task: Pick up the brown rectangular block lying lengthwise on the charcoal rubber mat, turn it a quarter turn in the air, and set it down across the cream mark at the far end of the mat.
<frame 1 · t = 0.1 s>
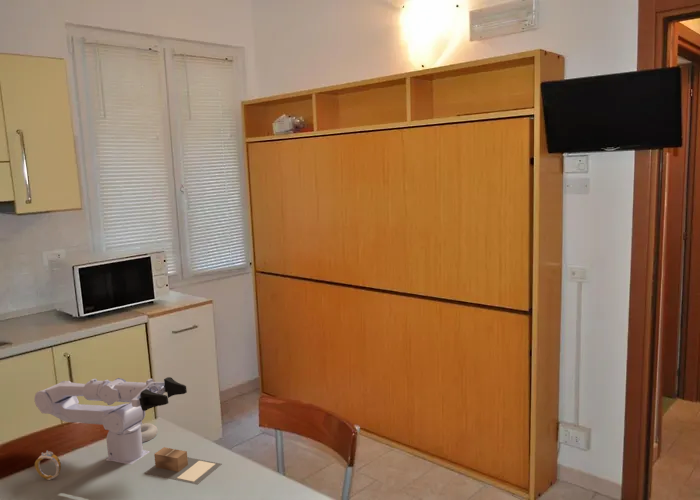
hand: (176, 394, 156), 22 cm above the table, tool horizontal, fingers open, 7 cm apart
brown rectangular block: (171, 466, 159), point 1 cm above the table, touching mat
mat: (183, 470, 158), on the table
donut: (141, 439, 179), on the table
ring: (49, 480, 156), on the table
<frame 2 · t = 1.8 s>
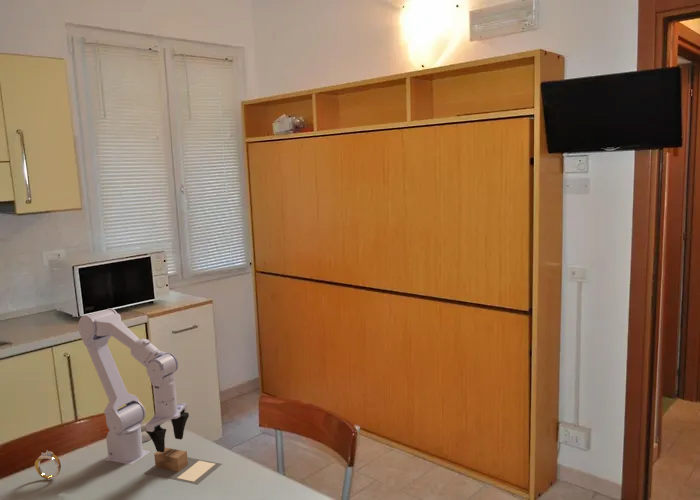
hand: (170, 444, 158), 7 cm above the table, tool pointing down, fingers open, 7 cm apart
nothing on the table moved.
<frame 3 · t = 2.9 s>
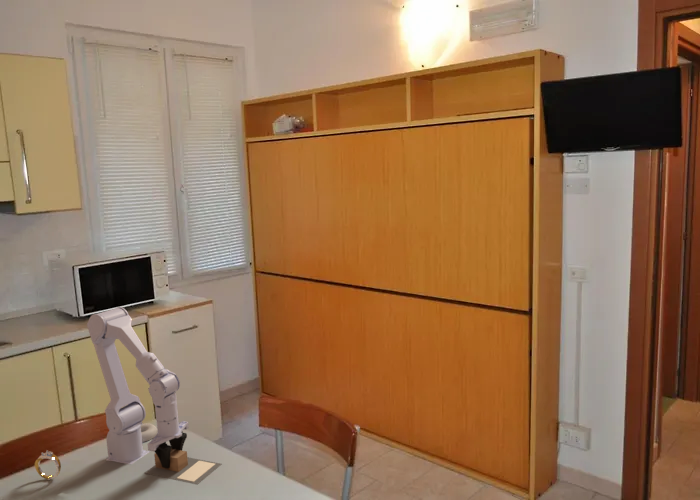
hand: (171, 463, 159), 1 cm above the table, tool pointing down, fingers closed on brown rectangular block, 4 cm apart
brown rectangular block: (171, 466, 159), point 1 cm above the table, touching gripper, mat
everything else where it was.
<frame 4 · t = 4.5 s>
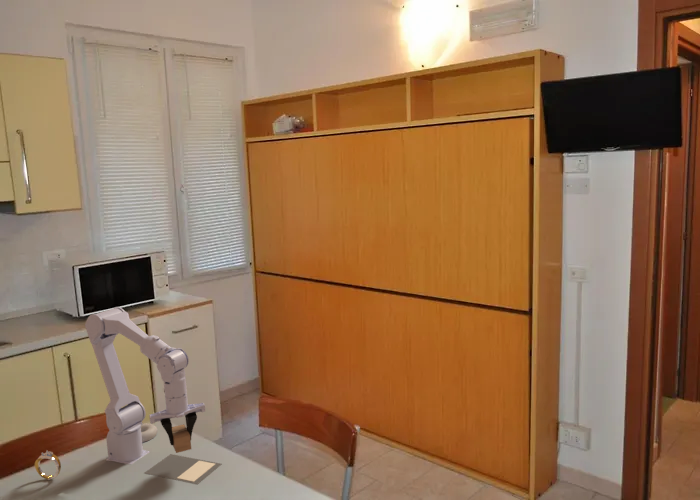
hand: (180, 441, 157), 9 cm above the table, tool pointing down, fingers closed on brown rectangular block, 4 cm apart
brown rectangular block: (180, 445, 157), point 7 cm above the table, touching gripper
everything else where it was.
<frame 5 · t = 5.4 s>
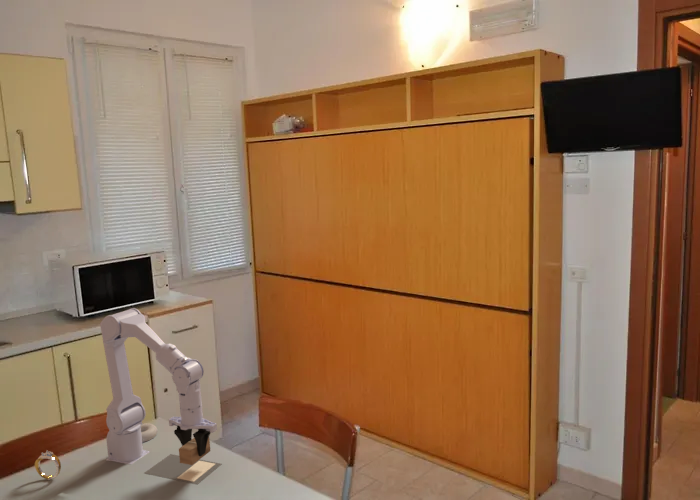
hand: (195, 453, 155), 6 cm above the table, tool pointing down, fingers closed on brown rectangular block, 4 cm apart
brown rectangular block: (195, 456, 155), point 5 cm above the table, touching gripper
everything else where it was.
when the fingers open (3 cm above the table, at t = 6.3 s): brown rectangular block drops 1 cm, resting on mat.
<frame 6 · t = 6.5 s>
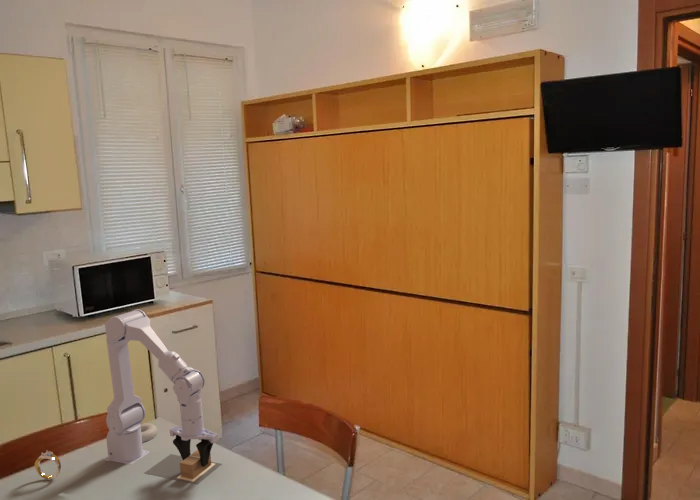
hand: (195, 463, 156), 3 cm above the table, tool pointing down, fingers open, 5 cm apart
brown rectangular block: (196, 470, 156), point 1 cm above the table, touching mat
everything else where it was.
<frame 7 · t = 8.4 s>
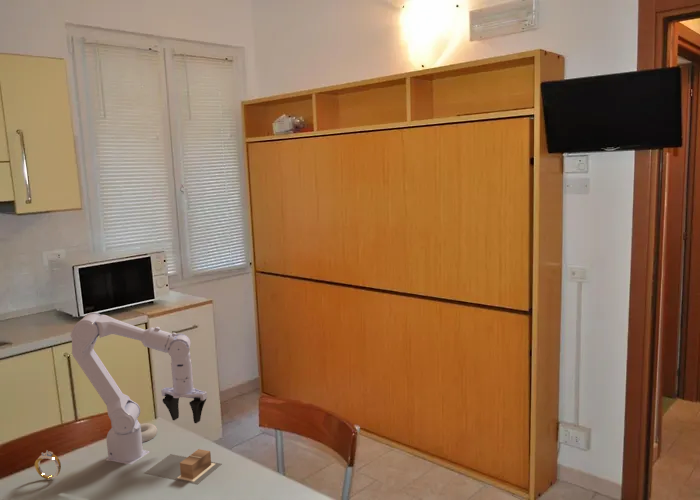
hand: (186, 420, 168), 9 cm above the table, tool pointing down, fingers open, 7 cm apart
nothing on the table moved.
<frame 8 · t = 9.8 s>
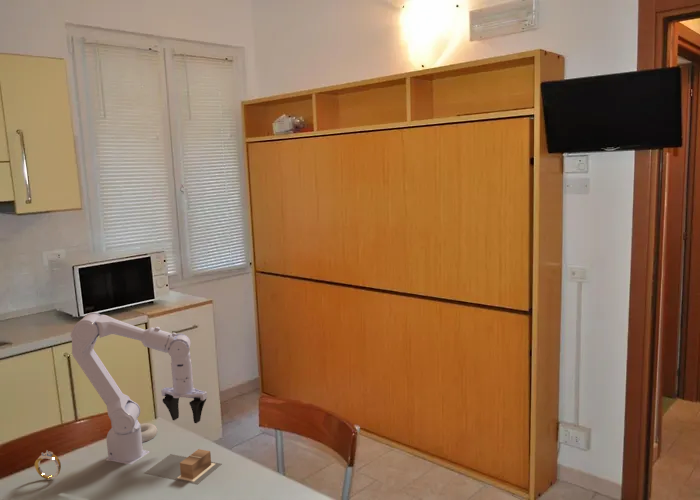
hand: (186, 420, 168), 9 cm above the table, tool pointing down, fingers open, 7 cm apart
nothing on the table moved.
at the end: brown rectangular block 0.0 cm from the target spot, point 0.7 cm above the table; brown rectangular block tilted 0°; the gripper is holding nothing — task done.
